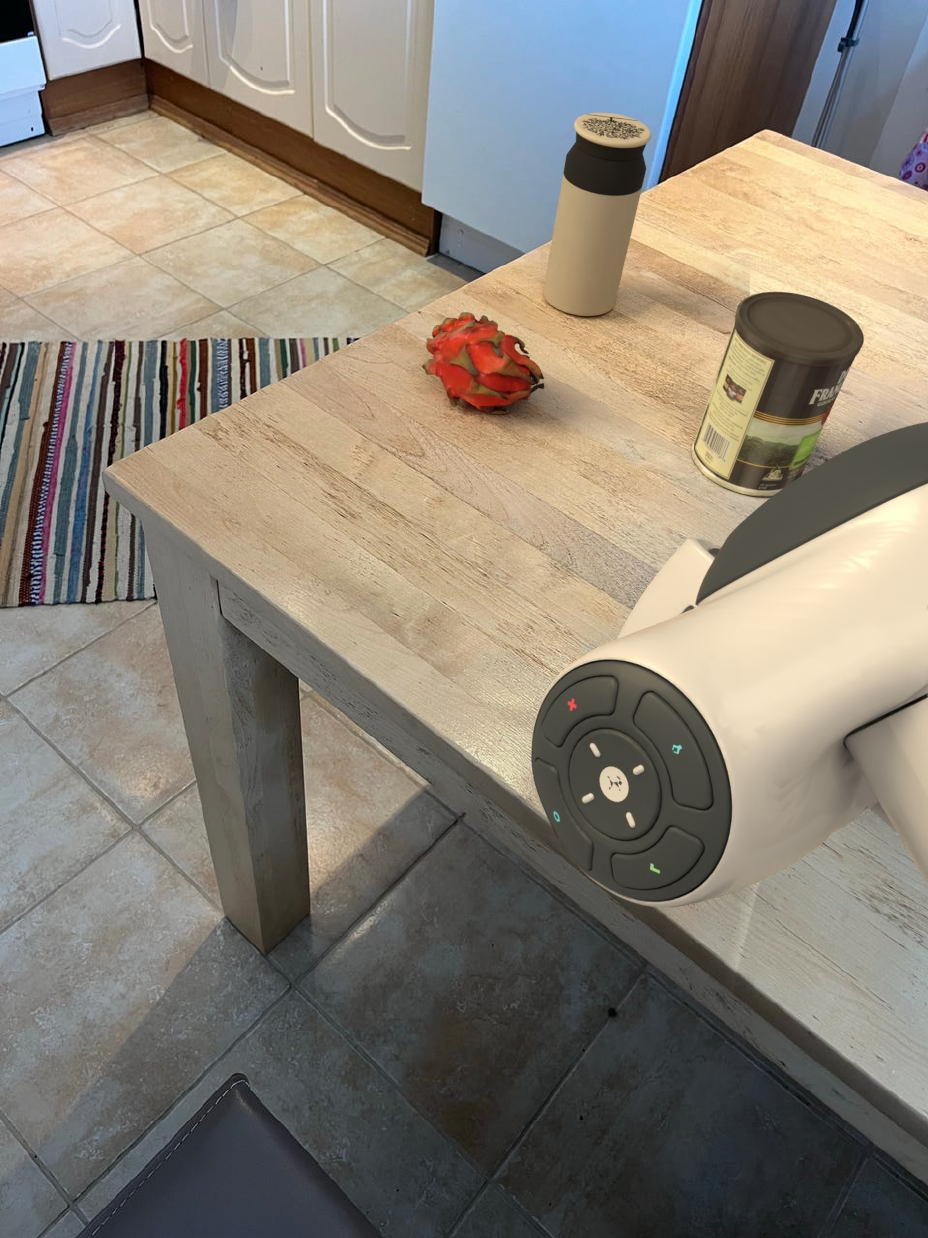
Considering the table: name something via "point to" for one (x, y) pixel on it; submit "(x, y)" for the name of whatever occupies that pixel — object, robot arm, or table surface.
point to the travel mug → (596, 213)
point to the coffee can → (774, 391)
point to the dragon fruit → (481, 364)
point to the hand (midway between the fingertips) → (884, 686)
